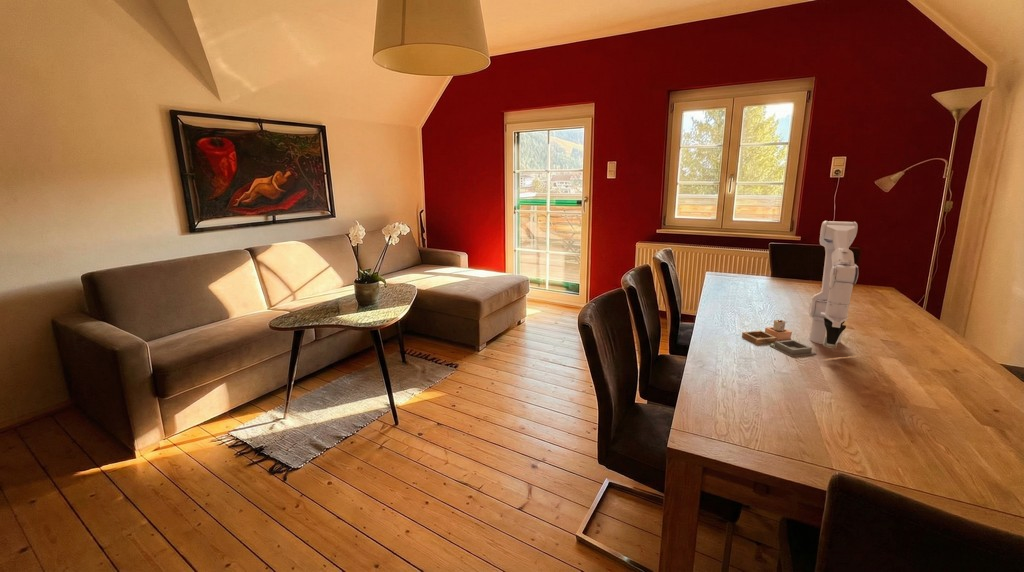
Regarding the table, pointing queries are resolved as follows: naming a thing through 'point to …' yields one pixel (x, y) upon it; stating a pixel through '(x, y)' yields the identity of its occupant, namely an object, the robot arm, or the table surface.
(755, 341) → the brown square tray
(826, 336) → the cell
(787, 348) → the cradle
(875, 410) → the table surface
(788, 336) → the orange square box
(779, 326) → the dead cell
